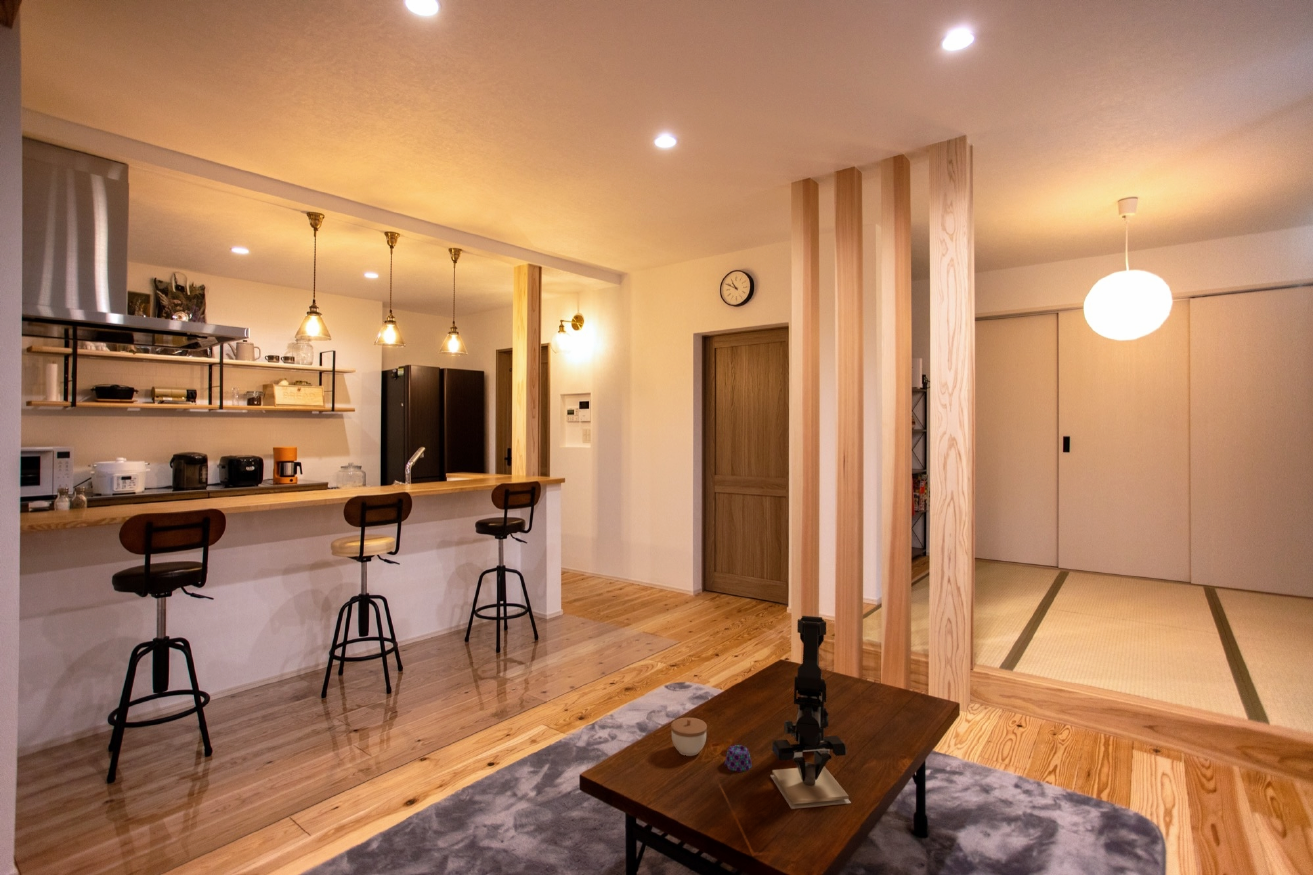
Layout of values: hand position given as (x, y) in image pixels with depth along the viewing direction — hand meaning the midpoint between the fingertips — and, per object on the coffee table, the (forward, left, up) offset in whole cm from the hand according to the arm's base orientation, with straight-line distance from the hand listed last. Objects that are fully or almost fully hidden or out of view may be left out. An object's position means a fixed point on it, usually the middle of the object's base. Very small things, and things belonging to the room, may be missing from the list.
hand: (809, 779), depth 169 cm
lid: (0, 0, -2) cm, 2 cm away
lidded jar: (+27, -26, -3) cm, 38 cm away
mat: (0, 0, -3) cm, 3 cm away
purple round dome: (+15, -15, -4) cm, 22 cm away
